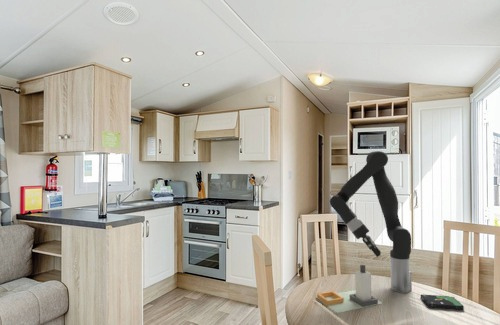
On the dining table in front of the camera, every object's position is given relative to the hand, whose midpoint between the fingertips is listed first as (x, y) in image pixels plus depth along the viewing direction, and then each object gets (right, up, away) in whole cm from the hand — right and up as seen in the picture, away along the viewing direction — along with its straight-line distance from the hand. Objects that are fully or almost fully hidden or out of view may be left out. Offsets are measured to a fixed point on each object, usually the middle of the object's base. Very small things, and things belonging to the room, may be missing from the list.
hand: (379, 254), depth 149 cm
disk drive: (+26, -22, -8) cm, 35 cm away
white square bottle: (-10, -21, -5) cm, 24 cm away
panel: (-17, -22, -4) cm, 28 cm away
